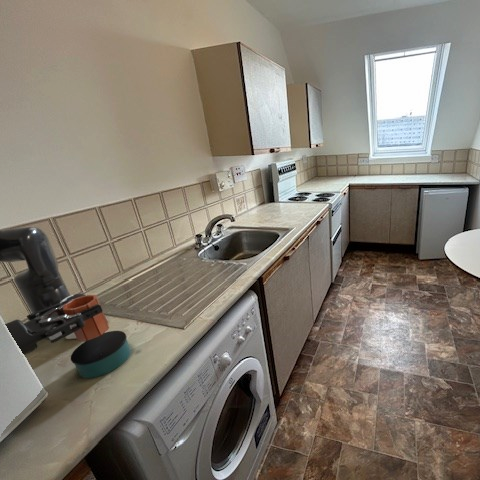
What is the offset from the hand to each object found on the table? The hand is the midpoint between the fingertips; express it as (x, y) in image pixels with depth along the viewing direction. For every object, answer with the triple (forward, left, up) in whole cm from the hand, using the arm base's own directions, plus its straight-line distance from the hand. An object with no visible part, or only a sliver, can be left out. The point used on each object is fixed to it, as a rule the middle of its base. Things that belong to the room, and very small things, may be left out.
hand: (94, 303), depth 66 cm
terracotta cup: (+1, -2, -7) cm, 7 cm away
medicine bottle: (-19, -6, -16) cm, 26 cm away
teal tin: (+1, -2, -16) cm, 16 cm away
